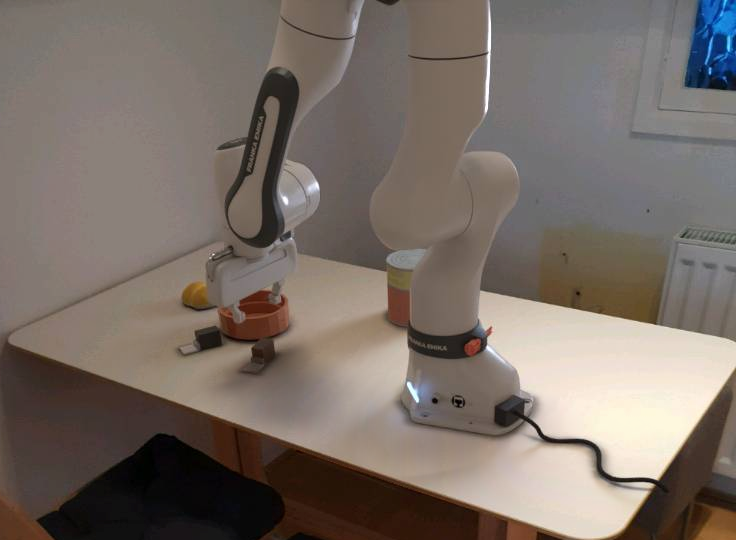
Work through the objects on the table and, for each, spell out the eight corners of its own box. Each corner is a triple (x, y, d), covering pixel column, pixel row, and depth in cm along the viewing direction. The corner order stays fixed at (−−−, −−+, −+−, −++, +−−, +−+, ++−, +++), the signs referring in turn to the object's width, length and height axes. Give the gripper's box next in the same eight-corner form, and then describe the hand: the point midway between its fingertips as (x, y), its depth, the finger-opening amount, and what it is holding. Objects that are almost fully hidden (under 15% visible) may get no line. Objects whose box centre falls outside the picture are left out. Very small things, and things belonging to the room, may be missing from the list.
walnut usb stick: (263, 352, 159) (261, 337, 157) (276, 354, 158) (274, 339, 156) (242, 371, 153) (240, 355, 151) (256, 373, 152) (254, 358, 150)
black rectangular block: (217, 339, 164) (215, 324, 162) (222, 345, 162) (220, 330, 160) (179, 349, 162) (176, 334, 160) (184, 355, 159) (181, 340, 158)
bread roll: (204, 313, 175) (201, 295, 172) (177, 304, 179) (173, 286, 177) (232, 299, 180) (229, 282, 177) (204, 291, 184) (201, 273, 182)
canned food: (449, 322, 165) (451, 264, 158) (396, 330, 163) (394, 272, 156) (432, 300, 174) (433, 245, 166) (381, 308, 172) (379, 252, 165)
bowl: (303, 320, 169) (301, 297, 166) (261, 347, 160) (258, 324, 157) (250, 307, 176) (247, 285, 173) (207, 333, 167) (203, 310, 164)
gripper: (217, 260, 134) (229, 337, 143) (300, 224, 147) (306, 297, 155) (191, 253, 138) (204, 329, 146) (274, 218, 150) (282, 290, 158)
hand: (257, 312), depth 151 cm, fingers open, 8 cm apart
